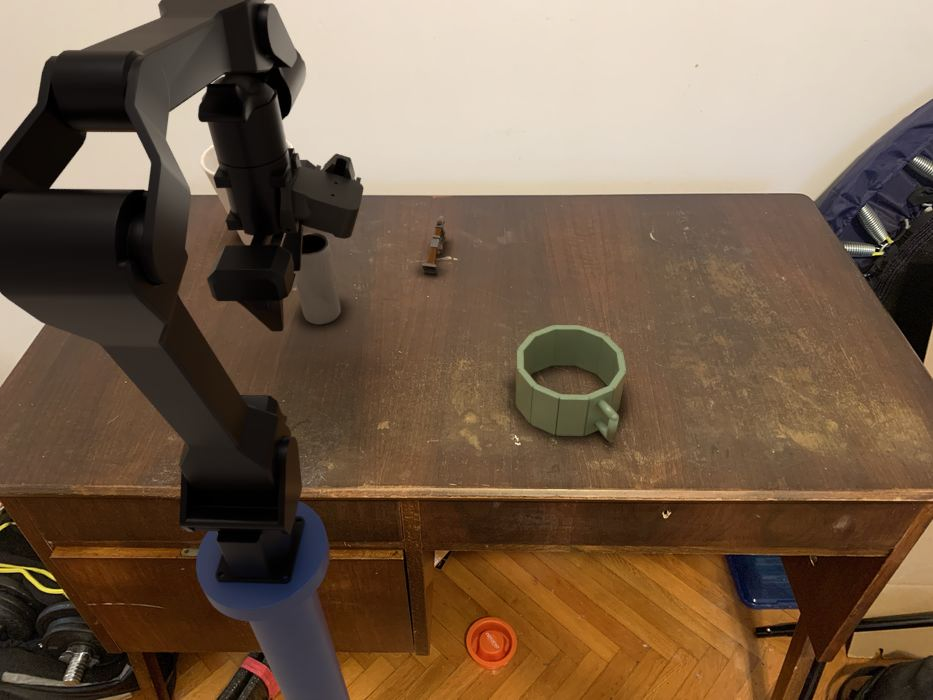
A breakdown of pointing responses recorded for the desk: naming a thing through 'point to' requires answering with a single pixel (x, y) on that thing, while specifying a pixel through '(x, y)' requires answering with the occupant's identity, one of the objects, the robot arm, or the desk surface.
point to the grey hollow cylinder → (317, 280)
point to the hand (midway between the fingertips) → (286, 298)
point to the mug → (569, 409)
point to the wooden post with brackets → (435, 246)
